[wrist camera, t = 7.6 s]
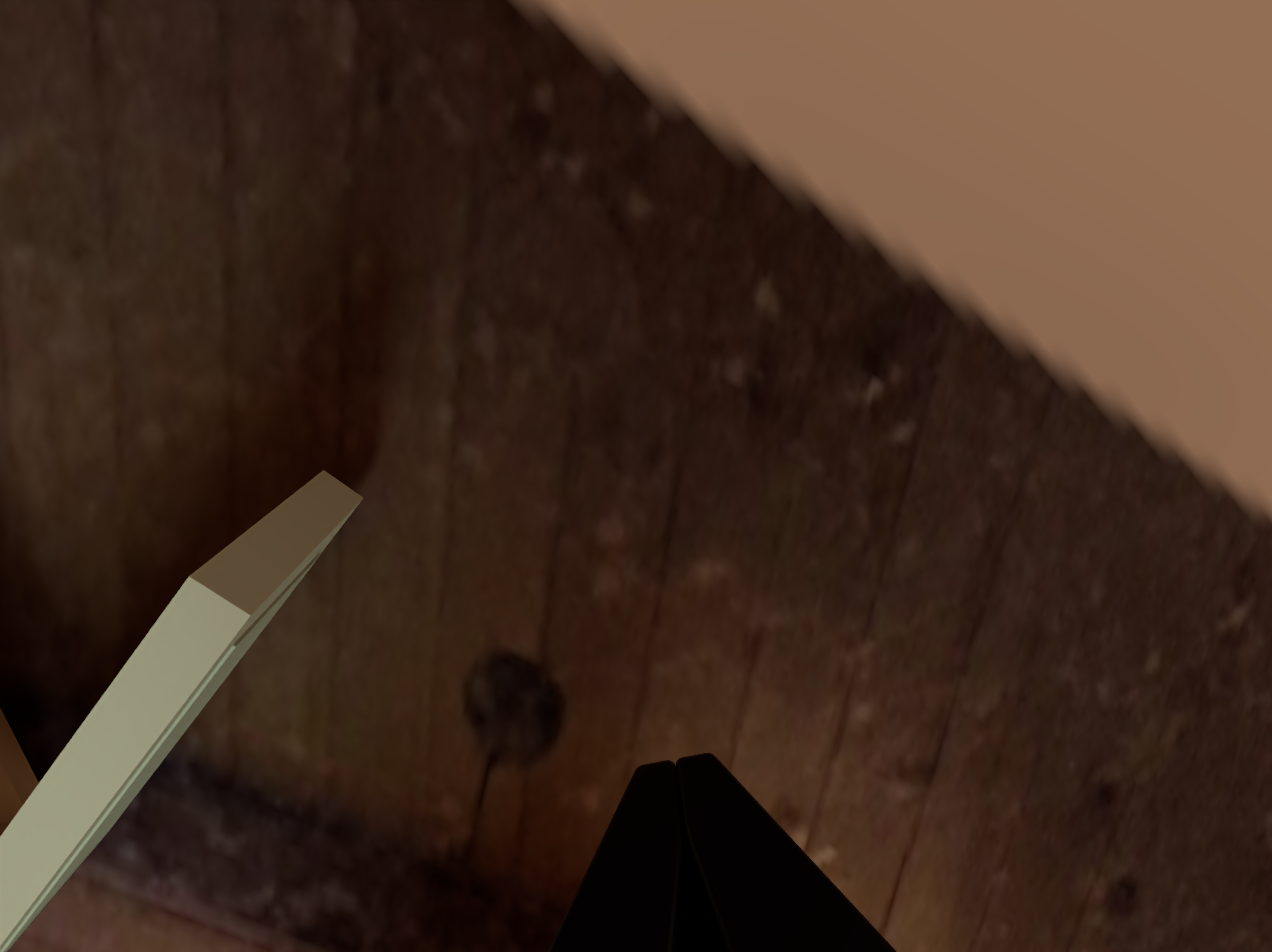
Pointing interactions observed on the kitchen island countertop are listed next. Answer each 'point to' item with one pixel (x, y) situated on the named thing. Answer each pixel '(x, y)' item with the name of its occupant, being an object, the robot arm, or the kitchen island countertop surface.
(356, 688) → the kitchen island countertop surface
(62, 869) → the door
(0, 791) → the cabinet
